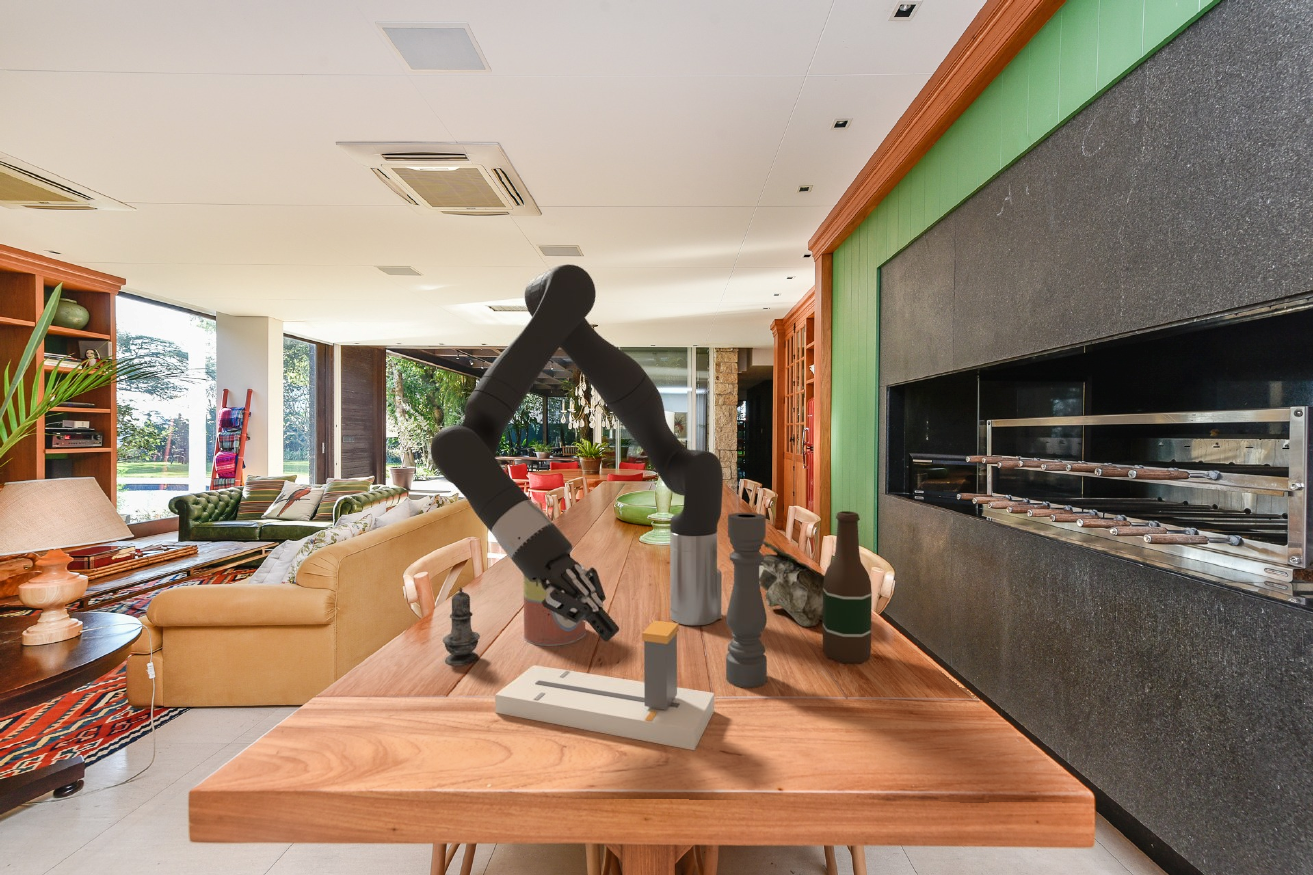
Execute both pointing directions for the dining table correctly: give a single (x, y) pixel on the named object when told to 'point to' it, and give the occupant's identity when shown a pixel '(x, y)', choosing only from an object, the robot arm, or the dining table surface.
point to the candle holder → (746, 602)
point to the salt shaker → (461, 632)
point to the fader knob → (660, 664)
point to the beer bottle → (847, 597)
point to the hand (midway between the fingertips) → (613, 635)
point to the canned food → (547, 620)
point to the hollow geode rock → (792, 586)
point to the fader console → (605, 706)
